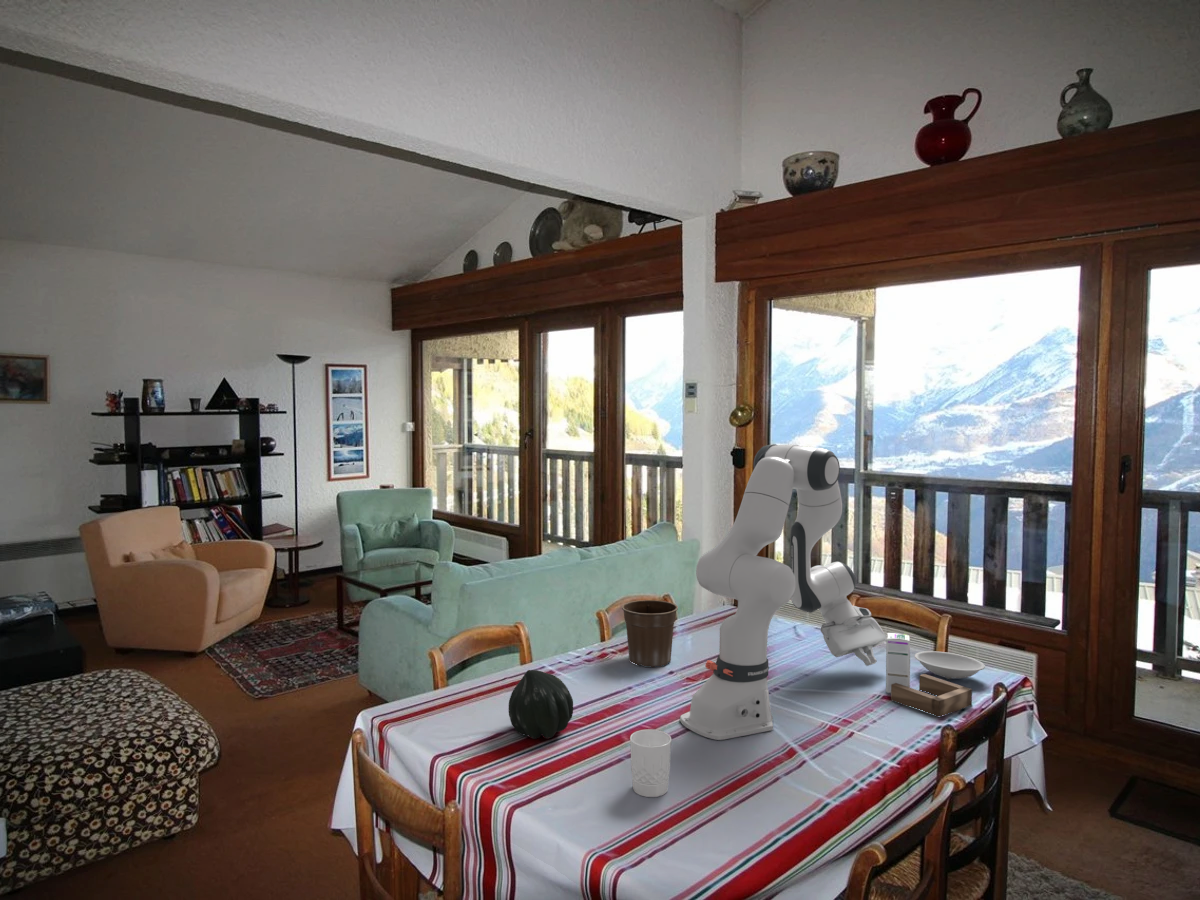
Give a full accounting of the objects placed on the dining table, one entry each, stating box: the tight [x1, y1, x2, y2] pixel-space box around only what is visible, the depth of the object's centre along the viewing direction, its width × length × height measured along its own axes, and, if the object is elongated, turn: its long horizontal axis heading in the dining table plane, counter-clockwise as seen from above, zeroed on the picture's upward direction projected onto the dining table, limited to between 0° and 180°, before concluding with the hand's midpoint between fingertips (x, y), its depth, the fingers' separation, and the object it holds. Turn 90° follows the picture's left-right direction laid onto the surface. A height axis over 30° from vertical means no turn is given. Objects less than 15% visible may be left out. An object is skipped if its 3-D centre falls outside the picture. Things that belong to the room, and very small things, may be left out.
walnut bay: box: [890, 673, 973, 717], centre depth 187 cm, size 14×13×4 cm
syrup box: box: [885, 632, 911, 694], centre depth 194 cm, size 6×6×14 cm
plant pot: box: [621, 599, 679, 668], centre depth 217 cm, size 16×16×16 cm
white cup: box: [629, 728, 672, 798], centre depth 143 cm, size 8×8×10 cm
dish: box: [914, 650, 986, 680], centre depth 204 cm, size 18×14×5 cm
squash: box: [508, 669, 574, 740], centre depth 169 cm, size 14×15×15 cm
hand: (872, 663), depth 201 cm, fingers closed
